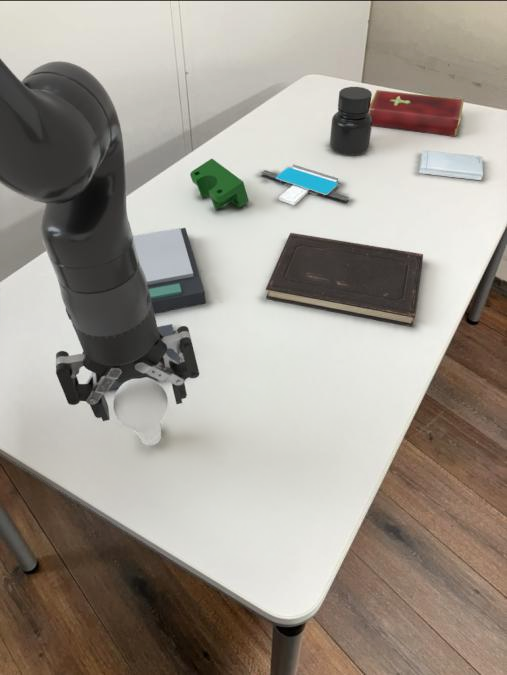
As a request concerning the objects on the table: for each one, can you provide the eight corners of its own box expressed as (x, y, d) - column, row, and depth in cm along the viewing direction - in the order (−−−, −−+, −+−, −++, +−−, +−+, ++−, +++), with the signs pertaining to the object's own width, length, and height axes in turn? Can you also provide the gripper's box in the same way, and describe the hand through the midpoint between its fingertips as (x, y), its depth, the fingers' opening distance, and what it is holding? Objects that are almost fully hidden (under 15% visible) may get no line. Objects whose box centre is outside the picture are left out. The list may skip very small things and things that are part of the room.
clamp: (206, 212, 107) (184, 173, 102) (229, 197, 108) (208, 158, 103) (229, 220, 97) (206, 177, 92) (253, 203, 98) (232, 159, 93)
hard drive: (482, 155, 109) (423, 148, 112) (483, 174, 104) (420, 166, 106) (480, 162, 110) (421, 155, 113) (480, 181, 105) (419, 174, 108)
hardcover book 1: (412, 327, 77) (415, 316, 75) (266, 298, 82) (265, 288, 80) (420, 262, 87) (423, 252, 86) (290, 241, 92) (290, 230, 91)
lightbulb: (121, 431, 66) (101, 378, 58) (166, 413, 67) (152, 358, 59) (136, 469, 62) (117, 418, 54) (183, 448, 64) (171, 396, 56)
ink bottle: (370, 139, 119) (378, 85, 110) (370, 157, 113) (379, 102, 104) (328, 137, 120) (332, 83, 111) (326, 155, 114) (331, 100, 105)
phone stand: (245, 188, 105) (244, 181, 104) (276, 164, 112) (276, 157, 110) (331, 218, 97) (331, 210, 96) (359, 190, 104) (360, 182, 102)
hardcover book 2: (455, 137, 118) (461, 119, 115) (365, 126, 123) (368, 108, 120) (459, 115, 126) (464, 98, 123) (374, 105, 131) (376, 88, 128)
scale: (111, 321, 79) (106, 306, 77) (104, 253, 91) (99, 237, 89) (206, 303, 82) (204, 287, 79) (187, 238, 94) (184, 223, 91)
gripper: (179, 266, 51) (196, 369, 63) (32, 293, 49) (79, 394, 61) (192, 316, 46) (208, 418, 58) (29, 349, 44) (81, 448, 56)
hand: (142, 406), depth 59 cm, fingers open, 8 cm apart
